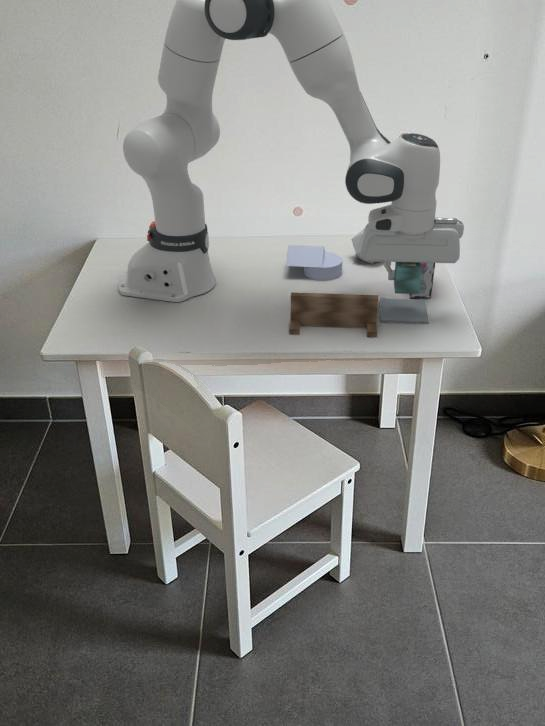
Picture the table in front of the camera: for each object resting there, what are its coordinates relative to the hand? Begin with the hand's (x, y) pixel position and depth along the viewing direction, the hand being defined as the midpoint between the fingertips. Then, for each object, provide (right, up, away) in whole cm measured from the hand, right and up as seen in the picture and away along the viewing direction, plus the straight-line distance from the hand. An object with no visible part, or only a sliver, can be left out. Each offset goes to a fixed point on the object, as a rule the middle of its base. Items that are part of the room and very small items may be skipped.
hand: (406, 279), depth 155 cm
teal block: (0, -2, +1) cm, 2 cm away
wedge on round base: (-18, +4, +22) cm, 29 cm away
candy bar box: (+5, 0, +14) cm, 15 cm away
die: (-4, +8, +28) cm, 29 cm away
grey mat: (0, -6, +4) cm, 8 cm away
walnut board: (-16, -11, -2) cm, 19 cm away
